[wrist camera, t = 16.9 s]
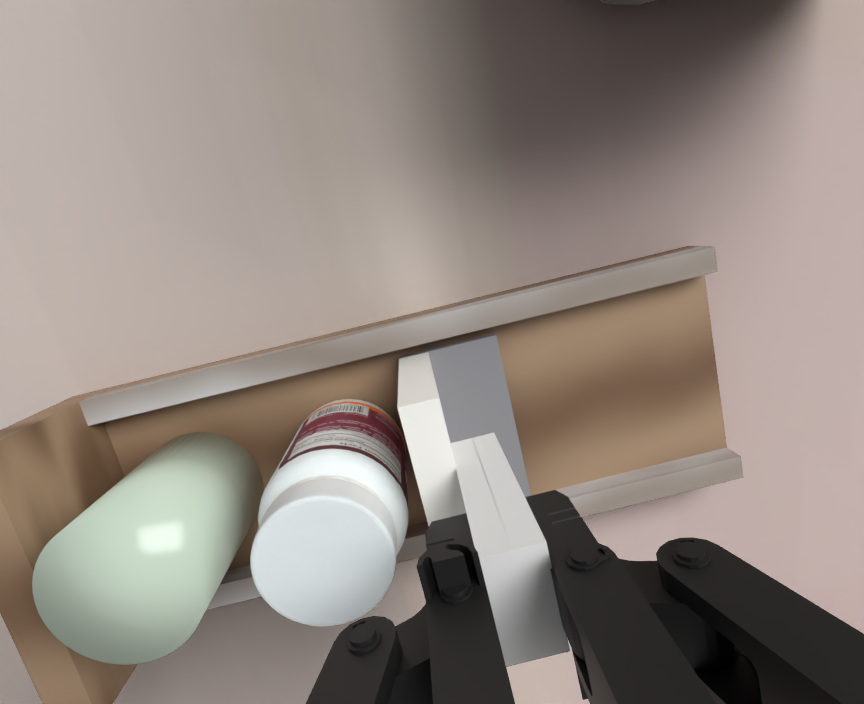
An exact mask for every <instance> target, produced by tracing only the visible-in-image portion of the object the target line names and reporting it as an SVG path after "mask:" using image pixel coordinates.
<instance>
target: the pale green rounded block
mask: <svg viewBox="0 0 864 704" xmlns="http://www.w3.org/2000/svg"><path fill="white" fill-rule="evenodd" d="M263 492H264V484H263V478H262V474H261V472H260V469H259V467H258V465H257V463H256V462H255V460H254V459H253V457H252V456H251V455H250V454H249V453H248V452H247V451H246V450H245V449H244V448H243V447H242V446H241V445H239V444H238V443H236V442H235V441H233V440H231V439H229V438H227V437H224V436H221V435H218V434H213V433H207V432H194V433H188V434H183V435H180V436H177V437H175V438H173V439H171V440H169V441H168V442H166V443H164V444H163V445H162V446H161V447H160V448H159V449H157V450H156V451H155V452H154V453H153V454H151V455H150V456H149V457H148V458H147V459H145V460H144V461H143V462H142V463H141V464H140V465H138V466H137V467H136V468H135V469H134V470H132V471H131V472H130V473H129V474H128V475H126V476H125V477H124V478H123V479H122V480H121V481H119V482H118V483H117V484H116V485H115V486H113V487H112V488H111V489H110V490H109V491H107V492H106V493H105V494H104V495H103V496H102V497H100V498H99V499H98V500H97V501H96V502H94V503H93V504H92V505H91V506H90V507H88V508H87V509H86V510H85V511H84V512H83V513H81V514H80V515H79V516H78V517H77V518H75V519H74V520H73V521H72V522H71V523H69V524H68V525H67V526H66V527H65V528H64V529H62V530H61V531H60V532H59V533H58V534H56V535H55V536H54V537H53V538H52V539H51V540H50V541H49V542H48V543H47V544H46V546H45V547H44V549H43V550H42V552H41V553H40V555H39V557H38V559H37V562H36V564H35V568H34V572H33V579H32V590H33V597H34V602H35V605H36V608H37V610H38V613H39V615H40V617H41V619H42V620H43V622H44V623H45V625H46V626H47V628H48V629H49V630H50V631H51V633H52V634H53V635H54V636H55V637H56V638H57V639H58V640H60V641H61V642H62V643H63V644H64V645H66V646H67V647H69V648H70V649H72V650H73V651H75V652H77V653H79V654H81V655H83V656H85V657H88V658H91V659H93V660H97V661H100V662H104V663H111V664H122V665H130V664H140V663H145V662H150V661H153V660H156V659H159V658H161V657H164V656H166V655H168V654H170V653H171V652H173V651H174V650H176V649H177V648H179V647H180V646H181V645H182V644H184V643H185V642H186V641H187V640H188V639H189V637H190V636H191V635H192V634H193V632H194V631H195V629H196V628H197V626H198V624H199V622H200V621H201V619H202V617H203V615H204V613H205V611H206V609H207V607H208V606H209V604H210V602H211V600H212V598H213V596H214V594H215V593H216V591H217V589H218V587H219V585H220V583H221V581H222V579H223V578H224V576H225V574H226V572H227V570H228V568H229V566H230V564H231V563H232V561H233V559H234V557H235V555H236V553H237V551H238V550H239V548H240V546H241V544H242V542H243V540H244V538H245V536H246V535H247V533H248V531H249V529H250V527H251V525H252V523H253V521H254V520H255V518H256V516H257V514H258V512H259V506H260V502H261V498H262V495H263Z"/></svg>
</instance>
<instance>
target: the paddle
mask: <svg viewBox="0 0 864 704" xmlns="http://www.w3.org/2000/svg"><path fill="white" fill-rule="evenodd" d="M397 408H398V412H399V416H400V420H401V423H402V427H403V431H404V435H405V439H406V442H407V446H408V450H409V454H410V458H411V461H412V465H413V469H414V473H415V477H416V480H417V484H418V488H419V492H420V495H421V499H422V503H423V507H424V511H425V514H426V518H427V522H428V526H430V524H431V522H432V521H436V520H440V519H444V518H448V517H452V516H456V515H461V514H465V513H466V509H465V505H464V500H463V496H462V492H461V488H460V483H459V479H458V475H457V471H456V465H455V461H454V457H453V452H452V448H451V444H450V443H453V442H458V441H462V440H466V439H470V438H474V437H478V436H482V435H486V434H490V433H494V434H495V436H496V438H497V440H498V442H499V444H500V446H501V448H502V450H503V452H504V454H505V456H506V459H507V461H508V463H509V465H510V467H511V469H512V471H513V473H514V475H515V477H516V479H517V481H518V484H519V486H520V488H521V490H522V492H523V494H524V496H525V497H528V496H531V493H530V489H529V484H528V479H527V475H526V470H525V466H524V461H523V456H522V452H521V447H520V442H519V438H518V433H517V429H516V424H515V419H514V415H513V410H512V406H511V401H510V396H509V392H508V387H507V382H506V378H505V373H504V369H503V364H502V359H501V355H500V350H499V346H498V341H497V336H496V334H495V333H492V334H488V335H484V336H480V337H476V338H472V339H468V340H464V341H460V342H455V343H451V344H447V345H443V346H439V347H435V348H431V349H427V350H423V351H419V352H415V353H411V354H406V355H402V356H399V371H398V404H397Z"/></svg>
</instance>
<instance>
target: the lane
mask: <svg viewBox="0 0 864 704" xmlns="http://www.w3.org/2000/svg"><path fill="white" fill-rule="evenodd" d="M714 272H718V271H717V263H716V255H715V247H711V246H687V247H683V248H679V249H675V250H670V251H666V252H662V253H658V254H654V255H650V256H646V257H642V258H638V259H634V260H630V261H626V262H621V263H617V264H613V265H609V266H605V267H601V268H597V269H593V270H589V271H585V272H581V273H576V274H572V275H568V276H564V277H560V278H556V279H552V280H548V281H544V282H540V283H536V284H532V285H527V286H523V287H519V288H515V289H511V290H507V291H503V292H499V293H495V294H491V295H487V296H483V297H478V298H474V299H470V300H466V301H462V302H458V303H454V304H450V305H446V306H442V307H438V308H433V309H429V310H425V311H421V312H417V313H413V314H409V315H405V316H401V317H397V318H393V319H389V320H384V321H380V322H376V323H372V324H368V325H364V326H360V327H356V328H352V329H348V330H344V331H340V332H335V333H331V334H327V335H323V336H319V337H315V338H311V339H307V340H303V341H299V342H295V343H290V344H286V345H282V346H278V347H274V348H270V349H266V350H262V351H258V352H254V353H250V354H246V355H241V356H237V357H233V358H229V359H225V360H221V361H217V362H213V363H209V364H205V365H201V366H197V367H192V368H188V369H184V370H180V371H176V372H172V373H168V374H164V375H160V376H156V377H152V378H147V379H143V380H139V381H135V382H131V383H127V384H123V385H119V386H115V387H111V388H107V389H103V390H98V391H94V392H90V393H86V394H82V395H78V396H74V397H71V398H69V399H67V400H64V401H62V402H60V403H58V404H56V405H54V406H52V407H49V408H47V409H45V410H43V411H41V412H39V413H37V414H34V415H32V416H30V417H28V418H26V419H24V420H22V421H19V422H17V423H15V424H13V425H11V426H9V427H7V428H4V429H2V430H0V613H1V615H2V617H3V619H4V622H5V624H6V626H7V628H8V630H9V632H10V634H11V637H12V639H13V641H14V643H15V645H16V647H17V649H18V652H19V654H20V656H21V658H22V660H23V662H24V664H25V667H26V669H27V671H28V673H29V675H30V677H31V679H32V682H33V684H34V686H35V688H36V690H37V692H38V694H39V697H40V699H41V701H42V703H43V704H113V702H114V700H115V699H116V697H117V696H118V694H119V692H120V691H121V689H122V688H123V686H124V685H125V683H126V681H127V680H128V678H129V677H130V675H131V673H132V672H133V670H134V669H135V667H136V665H137V664H130V665H122V664H111V663H104V662H100V661H97V660H93V659H91V658H88V657H85V656H83V655H81V654H79V653H77V652H75V651H73V650H72V649H70V648H69V647H67V646H66V645H64V644H63V643H62V642H61V641H60V640H58V639H57V638H56V637H55V636H54V635H53V634H52V633H51V631H50V630H49V629H48V628H47V626H46V625H45V623H44V622H43V620H42V619H41V617H40V615H39V613H38V610H37V608H36V605H35V602H34V597H33V590H32V579H33V572H34V568H35V564H36V562H37V559H38V557H39V555H40V553H41V552H42V550H43V549H44V547H45V546H46V544H47V543H48V542H49V541H50V540H51V539H52V538H53V537H54V536H55V535H56V534H58V533H59V532H60V531H61V530H62V529H64V528H65V527H66V526H67V525H68V524H69V523H71V522H72V521H73V520H74V519H75V518H77V517H78V516H79V515H80V514H81V513H83V512H84V511H85V510H86V509H87V508H88V507H90V506H91V505H92V504H93V503H94V502H96V501H97V500H98V499H99V498H100V497H102V496H103V495H104V494H105V493H106V492H107V491H109V490H110V489H111V488H112V487H113V486H115V485H116V484H117V483H118V482H119V481H121V480H122V479H123V478H124V477H125V476H126V475H128V474H129V473H130V472H131V471H132V470H134V469H135V468H136V467H137V466H138V465H140V464H141V463H142V462H143V461H144V460H145V459H147V458H148V457H149V456H150V455H151V454H153V453H154V452H155V451H156V450H157V449H159V448H160V447H161V446H162V445H163V444H164V443H166V442H168V441H169V440H171V439H173V438H175V437H177V436H180V435H183V434H188V433H194V432H207V433H213V434H218V435H221V436H224V437H227V438H229V439H231V440H233V441H235V442H236V443H238V444H239V445H241V446H242V447H243V448H244V449H245V450H246V451H247V452H248V453H249V454H250V455H251V456H252V457H253V459H254V460H255V462H256V463H257V465H258V467H259V469H260V472H261V474H262V478H263V484H264V490H265V488H266V486H267V484H268V482H269V481H270V479H271V477H272V475H273V474H274V472H275V470H276V469H277V467H278V465H279V463H280V462H281V460H282V458H283V456H284V454H285V452H286V451H287V449H288V447H289V445H290V444H291V442H292V440H293V439H294V437H295V434H296V433H297V431H298V429H299V428H300V426H301V424H302V423H303V422H304V420H305V419H306V418H307V417H308V416H309V415H310V414H311V413H312V412H314V411H315V410H316V409H318V408H319V407H321V406H323V405H325V404H327V403H330V402H332V401H336V400H342V399H355V400H362V401H366V402H369V403H372V404H374V405H376V406H378V407H379V408H381V409H383V410H384V411H385V412H386V413H388V414H389V415H390V416H391V417H392V418H393V419H394V421H395V422H396V423H397V425H398V427H399V428H400V430H401V432H402V435H403V437H404V441H405V446H406V466H407V493H408V512H409V521H408V528H407V533H406V536H405V540H404V542H403V545H402V547H401V549H400V551H399V553H398V554H397V556H396V563H399V562H403V561H407V560H411V559H415V558H419V557H421V556H422V555H423V553H424V552H426V551H427V550H426V537H425V533H426V531H427V529H428V527H429V526H428V522H427V518H426V514H425V511H424V507H423V503H422V499H421V495H420V492H419V488H418V484H417V480H416V477H415V473H414V469H413V465H412V461H411V458H410V454H409V450H408V446H407V442H406V439H405V435H404V431H403V427H402V423H401V420H400V416H399V412H398V408H397V404H398V371H399V356H402V355H406V354H411V353H415V352H419V351H423V350H427V349H431V348H435V347H439V346H443V345H447V344H451V343H455V342H460V341H464V340H468V339H472V338H476V337H480V336H484V335H488V334H492V333H495V334H496V336H497V341H498V346H499V350H500V355H501V359H502V364H503V369H504V373H505V378H506V382H507V387H508V392H509V396H510V401H511V406H512V410H513V415H514V419H515V424H516V429H517V433H518V438H519V442H520V447H521V452H522V456H523V461H524V466H525V470H526V475H527V479H528V484H529V489H530V493H531V496H532V495H536V494H540V493H544V492H548V491H552V490H556V491H558V492H560V493H562V494H564V495H566V496H568V497H569V499H570V501H571V502H572V504H573V505H574V507H575V509H576V510H577V511H578V513H579V514H580V517H585V516H589V515H593V514H597V513H601V512H605V511H610V510H614V509H618V508H622V507H626V506H630V505H634V504H638V503H642V502H646V501H650V500H654V499H658V498H662V497H666V496H670V495H674V494H678V493H682V492H686V491H690V490H694V489H699V488H703V487H707V486H711V485H715V484H719V483H723V482H727V481H731V480H735V479H739V478H743V471H742V463H741V456H740V455H738V454H736V453H735V452H733V451H732V450H730V449H728V448H727V445H726V438H725V430H724V422H723V415H722V407H721V399H720V392H719V384H718V376H717V369H716V361H715V353H714V346H713V338H712V330H711V323H710V315H709V307H708V300H707V292H706V284H705V277H704V275H706V274H710V273H714ZM258 513H259V512H258ZM258 528H259V525H258V514H257V516H256V518H255V520H254V521H253V523H252V525H251V527H250V529H249V531H248V533H247V535H246V536H245V538H244V540H243V542H242V544H241V546H240V548H239V550H238V551H237V553H236V555H235V557H234V559H233V561H232V563H231V564H230V566H229V568H228V570H227V572H226V574H225V576H224V578H223V579H222V581H221V583H220V585H219V587H218V589H217V591H216V593H215V594H214V596H213V598H212V600H211V602H210V604H209V606H208V607H207V609H206V610H209V609H213V608H217V607H221V606H225V605H229V604H233V603H237V602H241V601H246V600H250V599H254V598H258V597H262V596H261V595H260V593H259V591H258V590H257V588H256V586H255V583H254V581H253V577H252V573H251V566H250V555H251V549H252V544H253V541H254V538H255V535H256V533H257V531H258Z"/></svg>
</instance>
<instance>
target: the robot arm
mask: <svg viewBox="0 0 864 704" xmlns="http://www.w3.org/2000/svg"><path fill="white" fill-rule="evenodd" d="M450 444H451V448H452V452H453V457H454V461H455V465H456V471H457V475H458V479H459V483H460V488H461V492H462V496H463V500H464V505H465V509H466V513H465V514H461V515H456V516H452V517H448V518H444V519H440V520H436V521H432V522H431V524H430V526H429V527H428V529H427V531H426V533H425V537H426V550H427V551H426V552H424V553H423V555H422V556H421V557H420V558H419V560H418V564H417V570H418V573H419V577H420V580H421V584H422V588H423V591H424V595H425V599H426V604H425V606H424V607H423V608H422V609H421V610H420V611H419V612H418V613H417V614H416V615H415V616H413V617H412V618H410V619H408V620H407V621H405V622H403V623H401V624H399V625H397V626H394V624H393V622H392V621H391V620H389V619H387V618H385V617H378V616H372V617H368V618H363V619H360V620H358V621H356V622H354V623H352V624H350V625H349V626H348V627H347V628H345V629H344V630H343V631H342V632H341V633H340V634H339V636H338V637H337V639H336V640H335V641H334V643H333V646H332V648H331V650H330V652H329V654H328V657H327V659H326V661H325V663H324V665H323V668H322V670H321V672H320V674H319V676H318V678H317V681H316V683H315V685H314V687H313V689H312V692H311V694H310V696H309V698H308V700H307V702H306V704H515V702H514V698H513V694H512V690H511V686H510V681H509V677H508V673H507V669H506V667H508V666H512V665H516V664H520V663H524V662H528V661H532V660H536V659H540V658H544V657H548V656H552V655H556V654H560V653H564V652H568V651H570V649H569V645H568V640H569V643H570V645H571V647H572V651H573V656H574V660H575V665H576V670H577V674H578V679H579V684H580V688H581V693H582V698H583V700H584V699H589V702H590V704H864V634H863V633H861V632H860V631H858V630H856V629H855V628H853V627H851V626H850V625H848V624H846V623H845V622H843V621H842V620H840V619H838V618H837V617H835V616H833V615H832V614H830V613H828V612H827V611H825V610H824V609H822V608H820V607H819V606H817V605H815V604H814V603H812V602H810V601H809V600H807V599H806V598H804V597H802V596H801V595H799V594H797V593H796V592H794V591H792V590H791V589H789V588H788V587H786V586H784V585H783V584H781V583H779V582H778V581H776V580H774V579H773V578H771V577H769V576H768V575H766V574H765V573H763V572H761V571H760V570H758V569H756V568H755V567H753V566H751V565H750V564H748V563H747V562H745V561H743V560H742V559H740V558H738V557H737V556H735V555H733V554H732V553H730V552H729V551H727V550H725V549H724V548H722V547H720V546H719V545H717V544H714V543H712V542H710V541H707V540H704V539H698V538H678V539H675V540H671V541H668V542H667V543H665V544H663V545H662V546H660V548H659V550H658V551H657V553H656V556H657V561H628V560H623V559H619V558H618V557H617V556H616V554H615V553H614V552H613V551H612V550H611V549H610V548H608V547H607V546H604V545H601V544H599V543H598V542H597V541H596V539H595V537H594V536H593V534H592V533H591V531H590V530H589V528H588V527H587V525H586V524H585V522H584V521H583V519H582V517H580V514H579V513H578V511H577V510H576V509H575V507H574V505H573V504H572V502H571V501H570V499H569V497H568V496H566V495H564V494H562V493H560V492H558V491H556V490H552V491H548V492H544V493H540V494H536V495H532V496H528V497H525V496H524V494H523V492H522V490H521V488H520V486H519V484H518V481H517V479H516V477H515V475H514V473H513V471H512V469H511V467H510V465H509V463H508V461H507V459H506V456H505V454H504V452H503V450H502V448H501V446H500V444H499V442H498V440H497V438H496V436H495V434H494V433H490V434H486V435H482V436H478V437H474V438H470V439H466V440H462V441H458V442H453V443H450ZM567 638H568V640H567Z"/></svg>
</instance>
